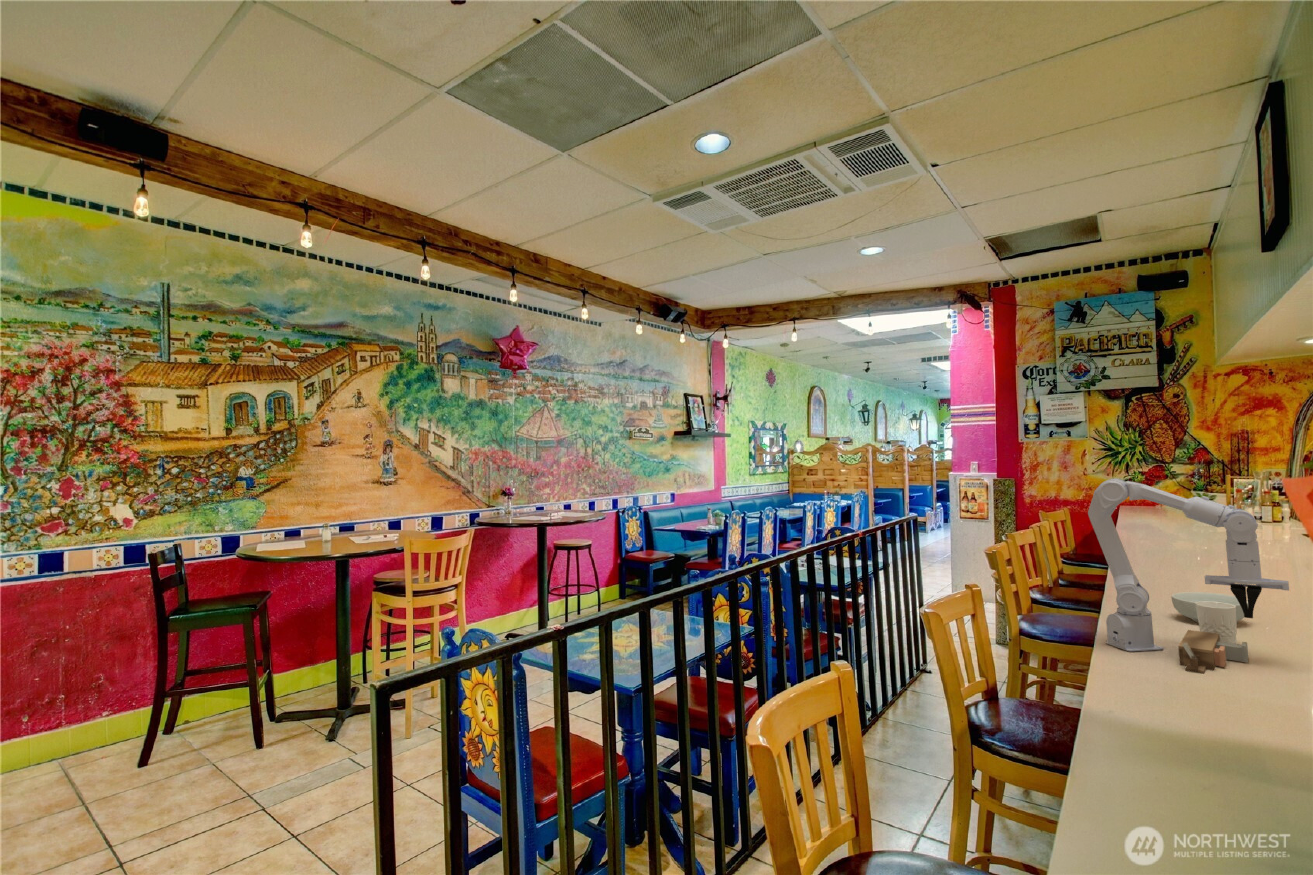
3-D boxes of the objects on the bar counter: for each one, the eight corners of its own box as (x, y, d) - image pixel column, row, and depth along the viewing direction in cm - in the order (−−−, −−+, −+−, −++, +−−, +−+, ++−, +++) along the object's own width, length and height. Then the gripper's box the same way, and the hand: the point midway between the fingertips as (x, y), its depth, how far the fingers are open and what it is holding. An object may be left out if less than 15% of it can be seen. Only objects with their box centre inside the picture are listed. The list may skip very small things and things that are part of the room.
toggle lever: (1199, 660, 143) (1187, 641, 144) (1198, 663, 141) (1186, 644, 142) (1194, 661, 143) (1182, 643, 145) (1193, 664, 142) (1181, 645, 143)
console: (1221, 651, 154) (1219, 633, 154) (1212, 674, 139) (1210, 654, 139) (1189, 647, 158) (1188, 629, 158) (1177, 669, 143) (1176, 649, 143)
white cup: (1247, 647, 156) (1243, 608, 156) (1211, 647, 157) (1208, 608, 158) (1225, 639, 164) (1222, 601, 164) (1191, 638, 165) (1188, 601, 166)
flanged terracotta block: (1226, 662, 145) (1224, 646, 145) (1224, 667, 142) (1223, 650, 142) (1189, 657, 150) (1187, 641, 150) (1187, 661, 147) (1185, 645, 147)
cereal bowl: (1161, 620, 184) (1159, 596, 185) (1191, 612, 191) (1188, 589, 192) (1233, 632, 169) (1230, 606, 169) (1262, 623, 176) (1259, 598, 176)
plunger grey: (1248, 658, 147) (1247, 642, 148) (1247, 662, 144) (1245, 646, 145) (1211, 653, 152) (1209, 637, 152) (1209, 657, 149) (1208, 641, 149)
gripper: (1286, 560, 145) (1292, 618, 144) (1204, 555, 155) (1209, 609, 155) (1286, 564, 140) (1292, 624, 139) (1201, 559, 150) (1206, 615, 150)
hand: (1248, 617), depth 147 cm, fingers closed
